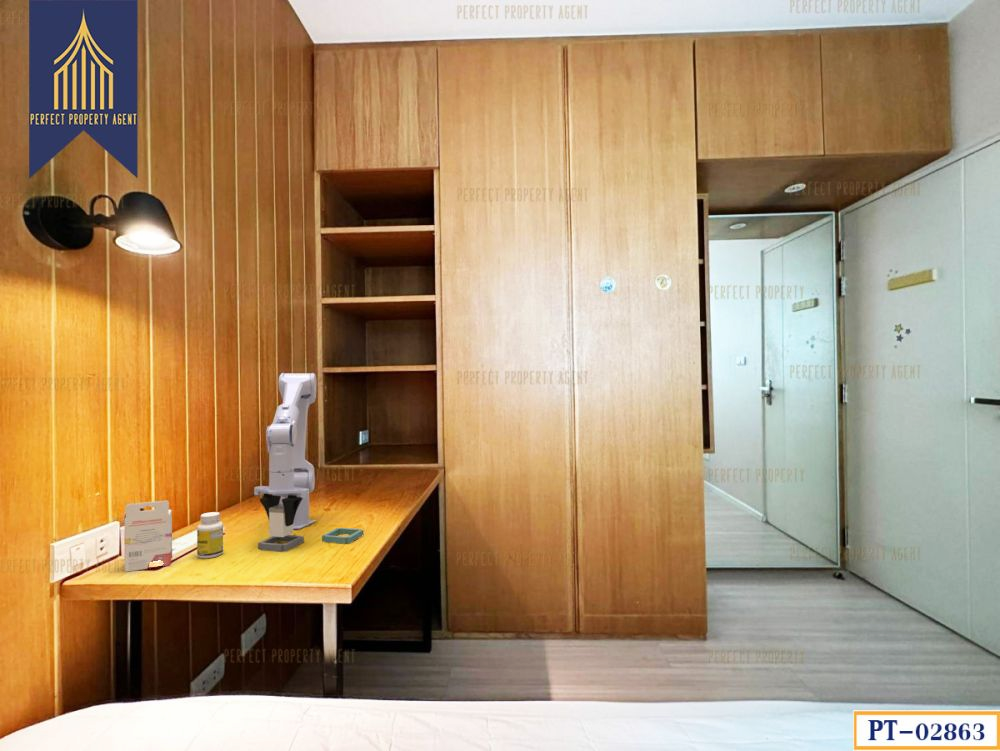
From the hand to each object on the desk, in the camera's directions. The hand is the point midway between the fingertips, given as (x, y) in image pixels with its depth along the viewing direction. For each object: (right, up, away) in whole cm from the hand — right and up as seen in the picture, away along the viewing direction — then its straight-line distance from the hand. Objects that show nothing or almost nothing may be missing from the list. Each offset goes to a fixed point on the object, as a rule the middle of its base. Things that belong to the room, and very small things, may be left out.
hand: (281, 524), depth 128 cm
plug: (0, -2, 0) cm, 2 cm away
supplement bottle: (-14, -5, -7) cm, 17 cm away
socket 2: (+14, -5, +6) cm, 16 cm away
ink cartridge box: (-24, -5, -14) cm, 28 cm away
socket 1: (0, -5, 0) cm, 5 cm away
